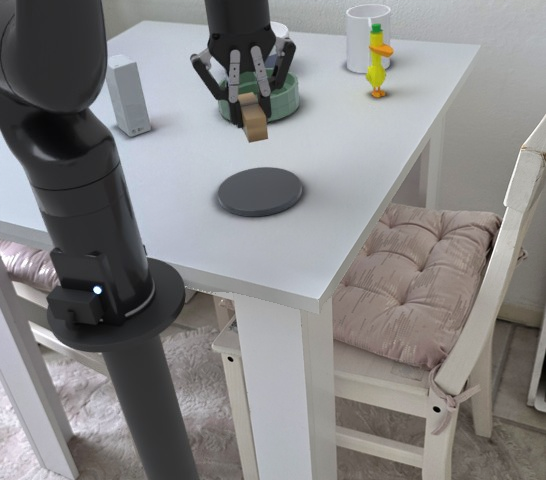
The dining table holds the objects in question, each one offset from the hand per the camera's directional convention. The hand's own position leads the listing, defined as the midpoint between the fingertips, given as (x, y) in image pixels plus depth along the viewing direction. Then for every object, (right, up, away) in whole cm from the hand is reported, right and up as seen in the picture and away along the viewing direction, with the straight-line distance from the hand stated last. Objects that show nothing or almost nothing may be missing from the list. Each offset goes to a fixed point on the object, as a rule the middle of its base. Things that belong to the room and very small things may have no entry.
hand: (251, 122), depth 88 cm
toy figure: (+22, +12, +29) cm, 38 cm away
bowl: (-1, +21, +43) cm, 48 cm away
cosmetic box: (-21, +6, +28) cm, 36 cm away
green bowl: (0, +10, +29) cm, 31 cm away
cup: (+21, +21, +39) cm, 49 cm away
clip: (0, -1, 0) cm, 1 cm away
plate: (+1, -8, +7) cm, 11 cm away
